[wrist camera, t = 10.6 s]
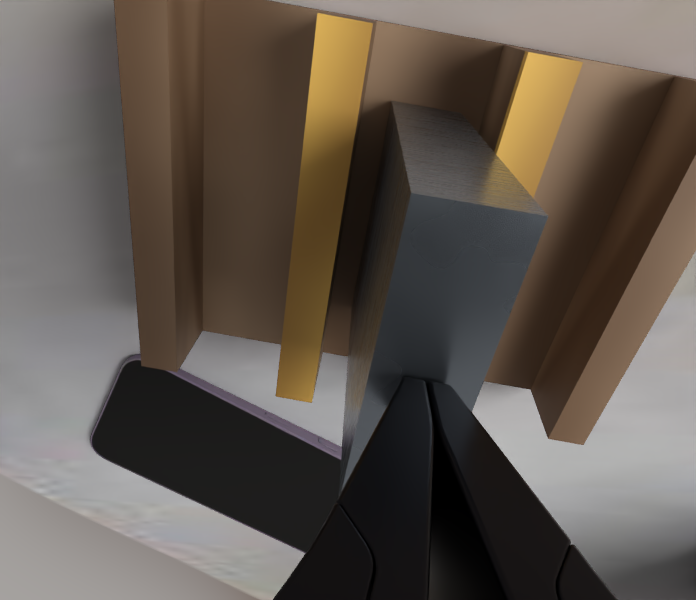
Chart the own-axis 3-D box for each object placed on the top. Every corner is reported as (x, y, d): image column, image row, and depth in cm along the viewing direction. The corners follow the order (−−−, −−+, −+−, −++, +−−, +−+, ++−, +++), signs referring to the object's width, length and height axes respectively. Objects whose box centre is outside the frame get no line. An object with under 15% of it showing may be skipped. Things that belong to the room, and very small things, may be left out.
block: (461, 113, 14) (549, 216, 7) (407, 317, 17) (429, 518, 11) (391, 100, 14) (411, 193, 7) (351, 309, 17) (338, 505, 10)
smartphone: (128, 348, 20) (429, 502, 23) (141, 333, 21) (428, 483, 24) (83, 450, 24) (349, 575, 26) (96, 434, 25) (351, 555, 27)
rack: (699, 80, 14) (792, 100, 11) (554, 377, 19) (586, 451, 16) (174, -17, 14) (105, -27, 10) (181, 310, 19) (137, 371, 16)
